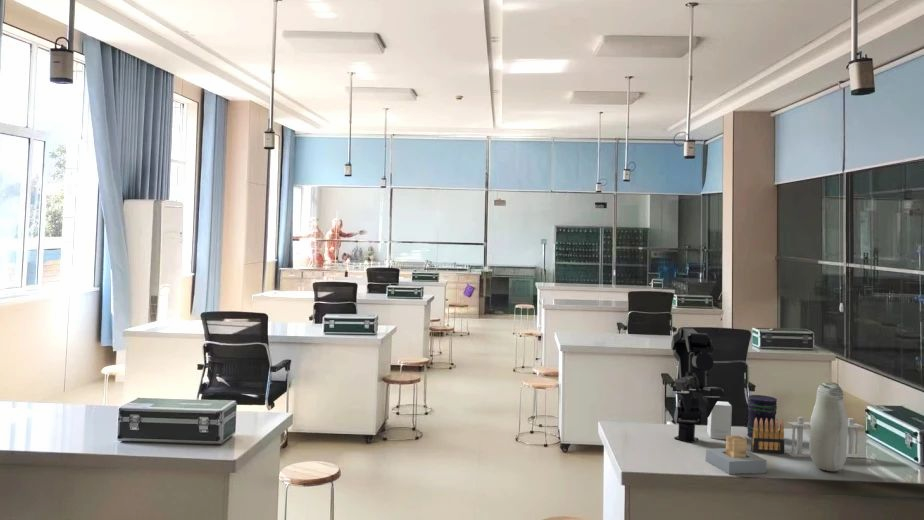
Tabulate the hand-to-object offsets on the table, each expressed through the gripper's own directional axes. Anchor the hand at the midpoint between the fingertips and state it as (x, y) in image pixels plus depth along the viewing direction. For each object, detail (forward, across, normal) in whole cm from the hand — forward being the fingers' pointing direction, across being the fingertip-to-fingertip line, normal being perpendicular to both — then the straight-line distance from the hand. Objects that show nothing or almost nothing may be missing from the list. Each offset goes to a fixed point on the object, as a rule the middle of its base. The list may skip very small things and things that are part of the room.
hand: (697, 415), depth 227 cm
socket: (+14, +15, +2) cm, 21 cm away
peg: (+14, +15, +2) cm, 20 cm away
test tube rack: (+12, +15, +43) cm, 47 cm away
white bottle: (+14, +26, +29) cm, 42 cm away
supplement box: (+10, -14, +24) cm, 30 cm away
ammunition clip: (+12, +6, +26) cm, 29 cm away
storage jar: (+10, -8, +39) cm, 41 cm away
